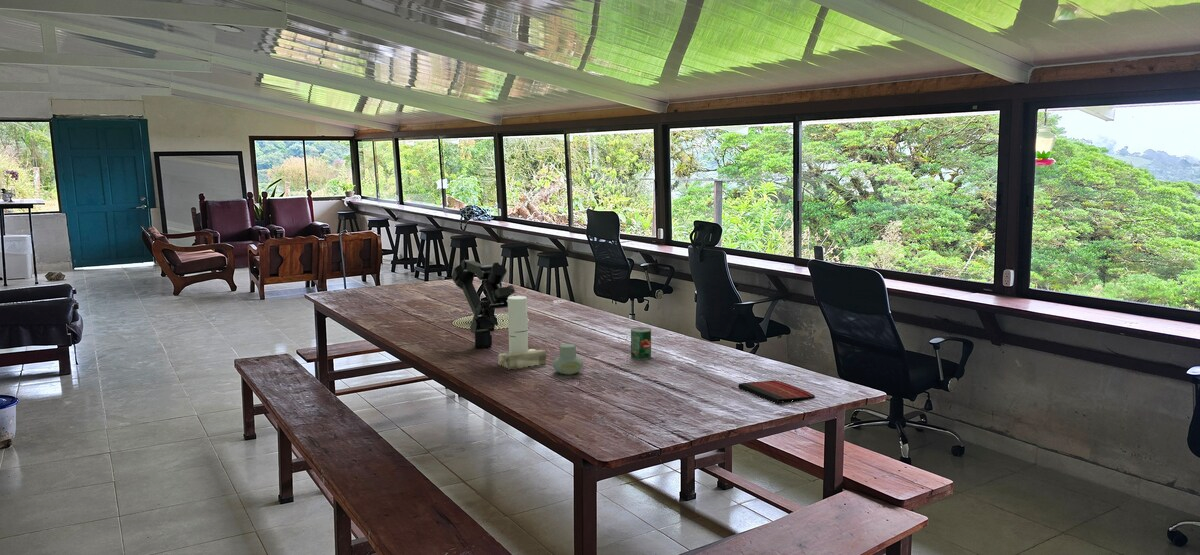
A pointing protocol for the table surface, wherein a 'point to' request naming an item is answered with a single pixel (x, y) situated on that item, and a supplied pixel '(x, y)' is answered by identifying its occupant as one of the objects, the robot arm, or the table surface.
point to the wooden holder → (522, 359)
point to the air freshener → (567, 360)
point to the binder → (776, 391)
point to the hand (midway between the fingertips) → (508, 323)
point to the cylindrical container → (517, 324)
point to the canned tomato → (640, 343)
